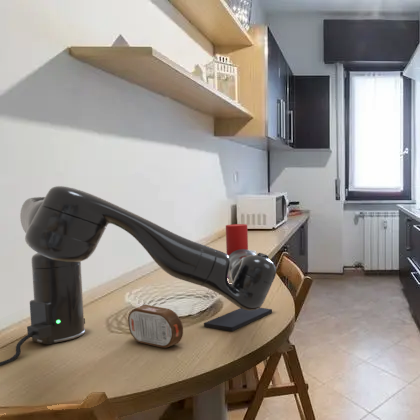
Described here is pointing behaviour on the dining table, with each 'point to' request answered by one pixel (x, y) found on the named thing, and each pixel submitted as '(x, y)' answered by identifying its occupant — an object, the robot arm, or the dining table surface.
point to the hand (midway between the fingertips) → (237, 256)
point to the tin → (155, 326)
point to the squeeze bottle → (236, 238)
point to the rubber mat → (237, 319)
